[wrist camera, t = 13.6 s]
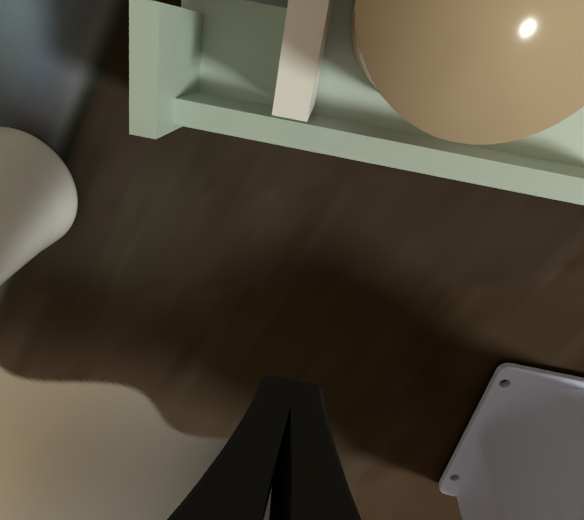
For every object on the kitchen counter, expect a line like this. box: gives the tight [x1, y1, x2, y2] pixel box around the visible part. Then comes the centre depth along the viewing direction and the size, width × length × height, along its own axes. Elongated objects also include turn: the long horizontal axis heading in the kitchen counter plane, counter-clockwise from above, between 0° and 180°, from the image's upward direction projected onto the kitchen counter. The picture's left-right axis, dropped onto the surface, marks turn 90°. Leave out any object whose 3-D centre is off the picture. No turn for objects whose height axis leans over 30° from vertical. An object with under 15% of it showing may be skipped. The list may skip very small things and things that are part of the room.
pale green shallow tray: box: [129, 0, 584, 205], centre depth 13 cm, size 9×16×5 cm, turn 80°
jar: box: [350, 0, 584, 145], centre depth 11 cm, size 5×5×7 cm
